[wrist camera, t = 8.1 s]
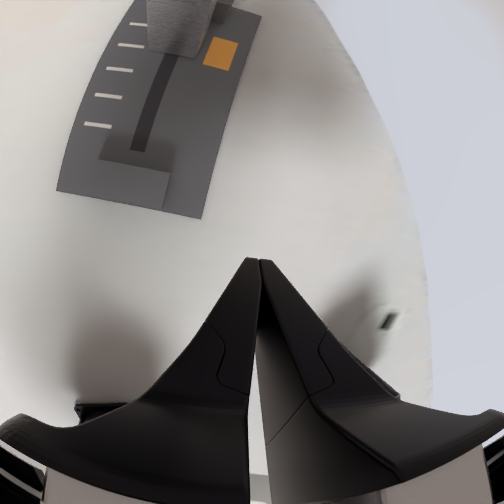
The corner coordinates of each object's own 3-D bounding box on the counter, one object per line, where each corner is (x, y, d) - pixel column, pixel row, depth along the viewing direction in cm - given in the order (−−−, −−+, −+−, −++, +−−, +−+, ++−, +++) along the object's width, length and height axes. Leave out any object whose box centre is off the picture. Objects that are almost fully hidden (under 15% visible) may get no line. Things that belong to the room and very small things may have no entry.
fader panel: (200, 219, 21) (206, 222, 17) (57, 190, 17) (39, 190, 14) (260, 18, 18) (273, -1, 15) (140, -6, 14) (139, -28, 11)
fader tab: (195, 59, 17) (219, -22, 8) (149, 50, 16) (145, -32, 7) (206, 33, 17) (235, -46, 8) (162, 25, 16) (168, -56, 6)
